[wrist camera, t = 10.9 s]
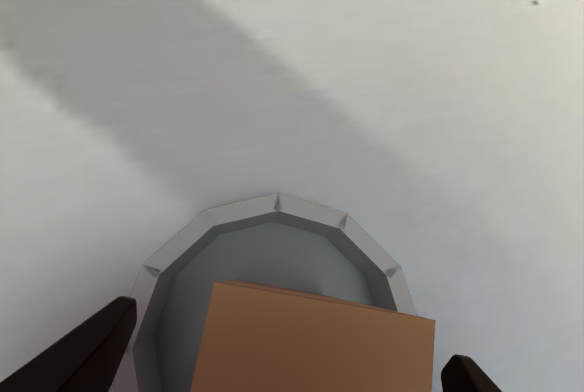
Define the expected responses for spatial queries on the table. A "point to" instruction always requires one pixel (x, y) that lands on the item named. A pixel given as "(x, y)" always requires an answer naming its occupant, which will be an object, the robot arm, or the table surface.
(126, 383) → the shallow grey bowl
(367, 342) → the walnut block
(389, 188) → the table surface
